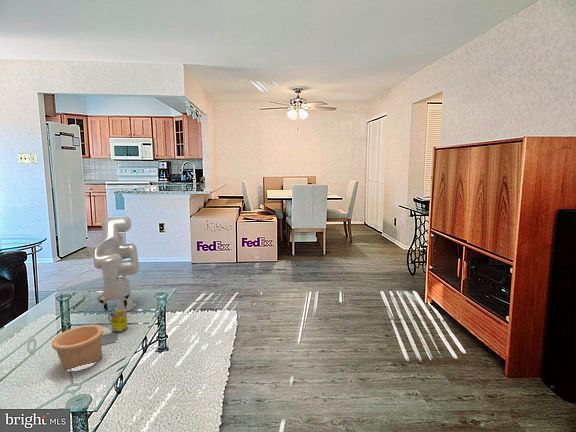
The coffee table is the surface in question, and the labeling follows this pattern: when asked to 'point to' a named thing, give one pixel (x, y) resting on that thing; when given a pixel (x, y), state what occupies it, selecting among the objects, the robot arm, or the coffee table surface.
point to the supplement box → (119, 321)
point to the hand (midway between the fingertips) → (116, 308)
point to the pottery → (79, 346)
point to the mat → (109, 338)
